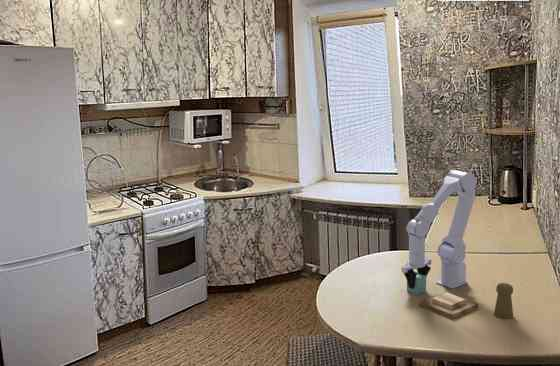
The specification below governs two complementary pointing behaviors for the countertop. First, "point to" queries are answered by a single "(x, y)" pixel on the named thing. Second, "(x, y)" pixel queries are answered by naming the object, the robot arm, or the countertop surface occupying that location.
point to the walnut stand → (448, 305)
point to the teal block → (418, 284)
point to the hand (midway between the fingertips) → (416, 286)
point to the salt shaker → (504, 301)
